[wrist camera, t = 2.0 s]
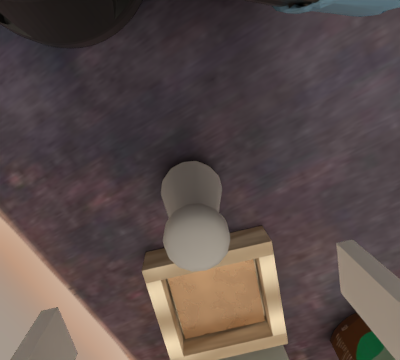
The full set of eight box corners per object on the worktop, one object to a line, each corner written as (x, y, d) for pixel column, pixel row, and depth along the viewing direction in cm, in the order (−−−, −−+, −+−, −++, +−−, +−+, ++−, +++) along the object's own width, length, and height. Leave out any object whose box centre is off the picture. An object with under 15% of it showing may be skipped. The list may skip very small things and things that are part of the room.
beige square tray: (145, 252, 32) (141, 270, 29) (261, 225, 32) (271, 241, 29) (174, 343, 36) (173, 369, 33) (277, 320, 36) (288, 343, 33)
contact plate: (165, 267, 32) (165, 270, 31) (250, 248, 32) (251, 250, 31) (185, 335, 34) (185, 338, 34) (263, 317, 34) (264, 320, 34)
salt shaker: (217, 154, 30) (245, 199, 17) (220, 207, 31) (246, 283, 19) (159, 158, 29) (144, 207, 17) (164, 211, 31) (154, 292, 18)
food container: (423, 302, 37) (509, 376, 27) (409, 342, 38) (485, 425, 29) (329, 299, 36) (383, 375, 26) (318, 340, 37) (366, 426, 28)
